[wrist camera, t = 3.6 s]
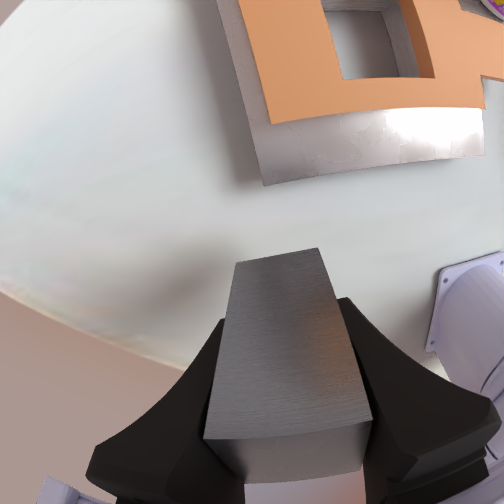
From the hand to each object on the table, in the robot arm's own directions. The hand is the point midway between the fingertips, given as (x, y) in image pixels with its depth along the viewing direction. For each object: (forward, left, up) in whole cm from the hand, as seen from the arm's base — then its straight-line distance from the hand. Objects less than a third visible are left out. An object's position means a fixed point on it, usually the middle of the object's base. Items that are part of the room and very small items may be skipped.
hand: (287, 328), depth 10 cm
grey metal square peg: (0, 0, -3) cm, 3 cm away
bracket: (+11, -10, -6) cm, 16 cm away
